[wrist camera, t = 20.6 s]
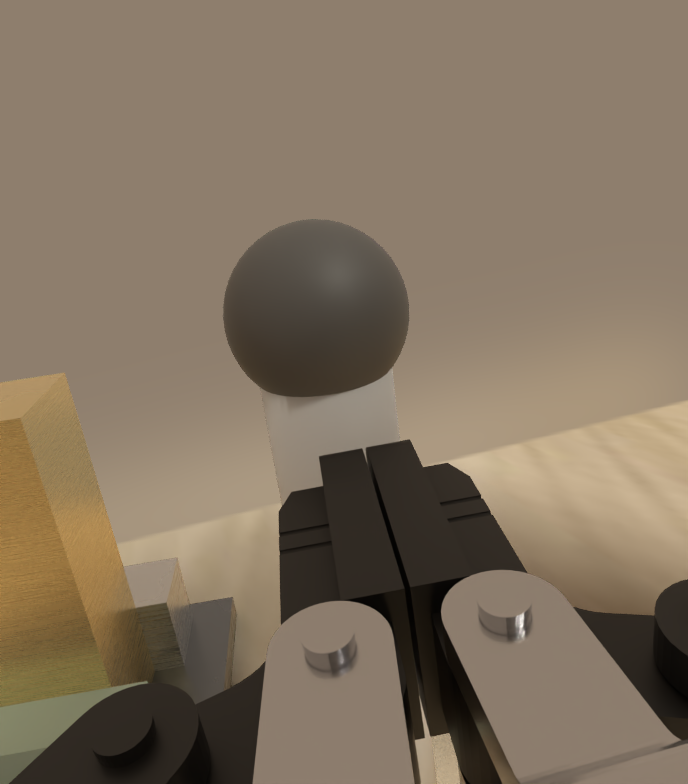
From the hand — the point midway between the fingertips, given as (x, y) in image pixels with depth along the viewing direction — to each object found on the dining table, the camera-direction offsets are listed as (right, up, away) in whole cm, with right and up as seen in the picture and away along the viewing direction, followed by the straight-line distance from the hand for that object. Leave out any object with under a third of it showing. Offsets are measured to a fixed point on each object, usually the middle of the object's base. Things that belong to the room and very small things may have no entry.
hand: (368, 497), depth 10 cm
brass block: (-10, -11, +14) cm, 20 cm away
